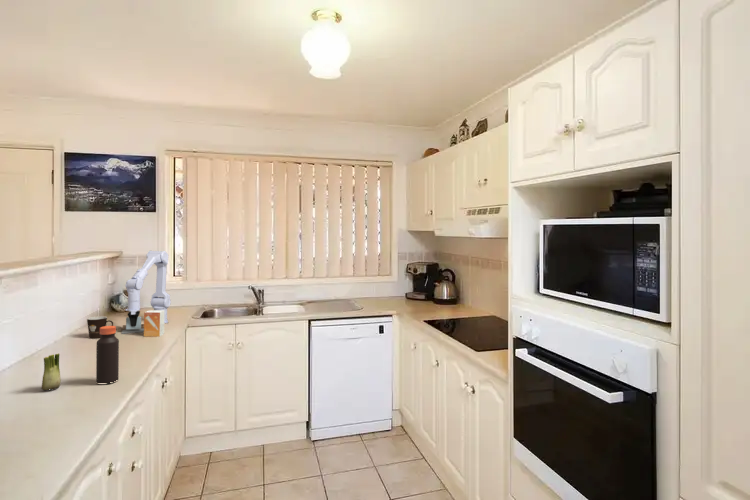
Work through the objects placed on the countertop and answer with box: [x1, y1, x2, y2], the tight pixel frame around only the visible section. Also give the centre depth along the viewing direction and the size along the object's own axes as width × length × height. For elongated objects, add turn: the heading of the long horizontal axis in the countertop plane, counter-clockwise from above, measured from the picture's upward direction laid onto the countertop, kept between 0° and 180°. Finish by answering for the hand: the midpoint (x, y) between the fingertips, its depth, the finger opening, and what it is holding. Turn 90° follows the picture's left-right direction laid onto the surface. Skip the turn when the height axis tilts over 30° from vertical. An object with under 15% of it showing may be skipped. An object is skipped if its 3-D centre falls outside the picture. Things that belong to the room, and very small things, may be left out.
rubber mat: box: [121, 328, 144, 335], centre depth 223 cm, size 8×11×1 cm
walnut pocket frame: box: [121, 323, 144, 331], centre depth 231 cm, size 9×12×1 cm
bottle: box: [95, 325, 120, 384], centre depth 147 cm, size 7×7×20 cm
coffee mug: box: [86, 315, 114, 340], centre depth 208 cm, size 12×9×10 cm
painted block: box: [125, 316, 142, 330], centre depth 223 cm, size 4×7×6 cm, turn 118°
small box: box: [143, 309, 165, 338], centre depth 215 cm, size 8×6×13 cm
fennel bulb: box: [41, 352, 62, 391], centre depth 139 cm, size 6×5×12 cm
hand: (133, 325), depth 223 cm, fingers closed on painted block, 4 cm apart
